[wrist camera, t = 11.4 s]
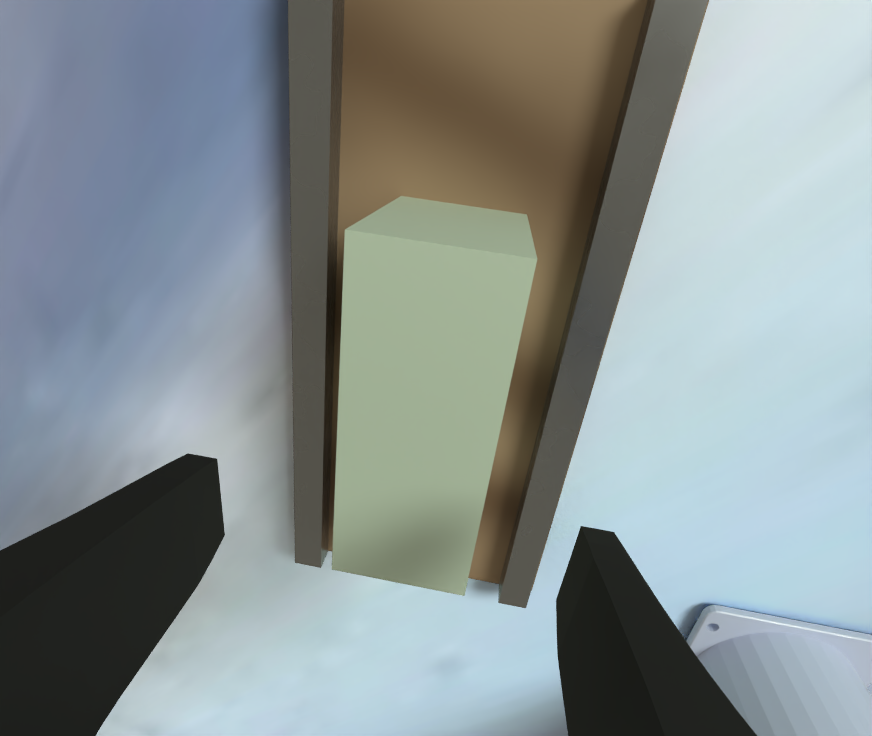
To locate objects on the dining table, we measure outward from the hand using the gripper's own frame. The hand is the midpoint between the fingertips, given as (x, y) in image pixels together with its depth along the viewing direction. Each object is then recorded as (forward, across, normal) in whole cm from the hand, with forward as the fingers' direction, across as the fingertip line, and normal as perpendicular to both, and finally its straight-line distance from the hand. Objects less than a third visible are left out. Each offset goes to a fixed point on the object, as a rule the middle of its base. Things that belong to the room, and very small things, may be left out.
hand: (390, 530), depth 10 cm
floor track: (+9, 0, 0) cm, 9 cm away
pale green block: (+9, 0, 0) cm, 9 cm away
